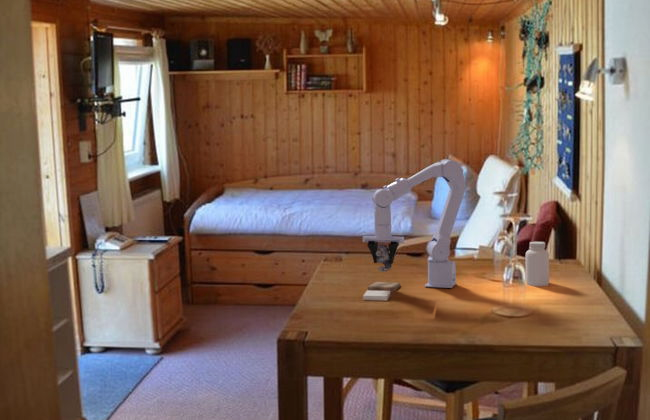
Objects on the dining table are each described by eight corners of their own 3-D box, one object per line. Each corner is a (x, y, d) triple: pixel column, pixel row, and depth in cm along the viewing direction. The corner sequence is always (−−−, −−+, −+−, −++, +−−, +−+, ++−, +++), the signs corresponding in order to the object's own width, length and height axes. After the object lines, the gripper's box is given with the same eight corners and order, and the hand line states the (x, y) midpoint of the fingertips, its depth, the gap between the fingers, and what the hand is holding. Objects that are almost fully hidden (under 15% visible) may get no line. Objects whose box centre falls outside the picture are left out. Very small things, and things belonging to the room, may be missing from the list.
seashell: (384, 273, 272) (384, 244, 270) (373, 271, 275) (372, 243, 274) (394, 271, 275) (394, 242, 274) (383, 269, 279) (382, 241, 278)
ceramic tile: (390, 295, 269) (390, 290, 269) (387, 300, 261) (387, 296, 261) (367, 294, 270) (367, 290, 270) (363, 300, 263) (363, 295, 262)
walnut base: (400, 288, 279) (400, 282, 278) (392, 294, 270) (392, 287, 270) (376, 287, 282) (376, 281, 282) (367, 292, 274) (367, 286, 274)
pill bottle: (546, 282, 281) (546, 240, 280) (550, 287, 274) (551, 244, 272) (523, 282, 282) (523, 240, 281) (527, 287, 274) (527, 244, 273)
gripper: (406, 223, 274) (407, 261, 276) (366, 222, 280) (367, 260, 281) (400, 225, 268) (401, 265, 270) (360, 224, 273) (361, 263, 275)
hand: (383, 263), depth 275 cm, fingers closed on seashell, 5 cm apart
